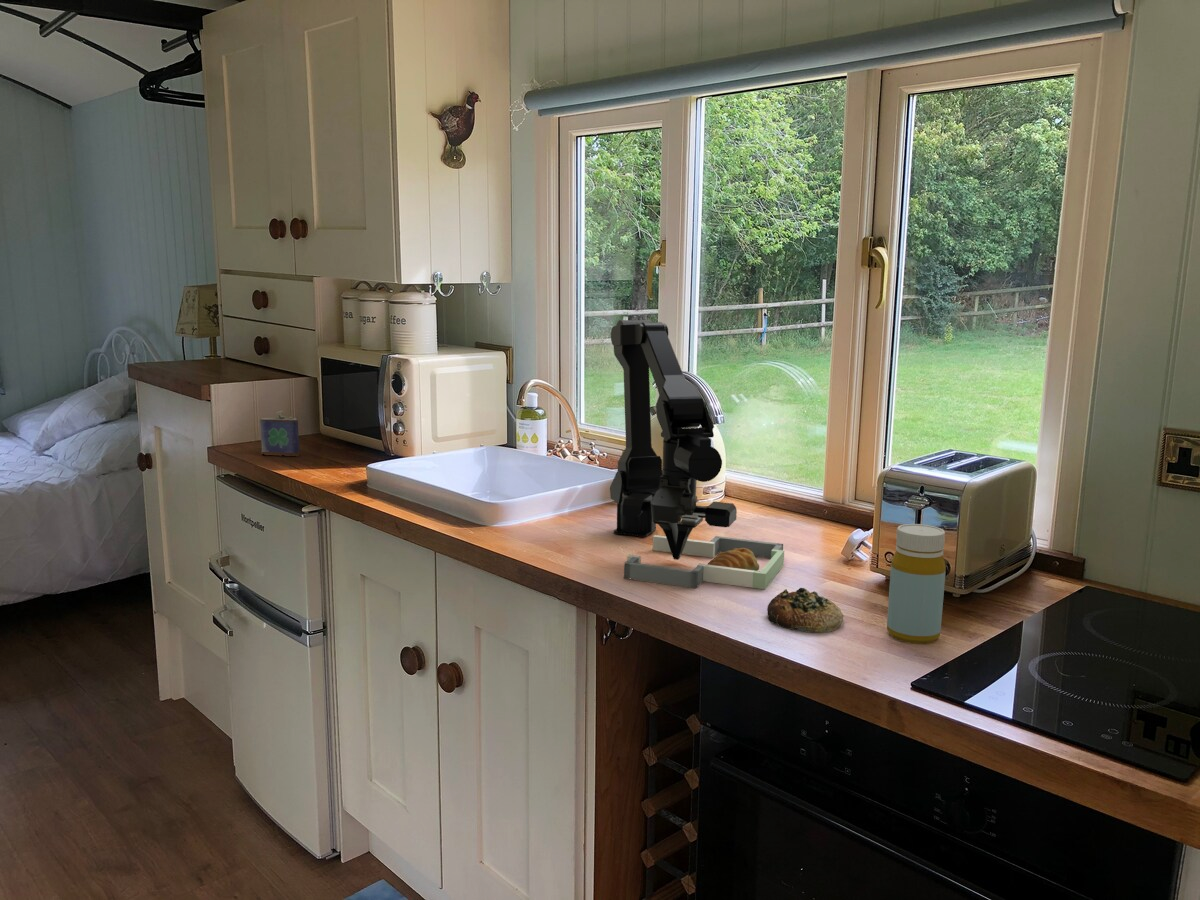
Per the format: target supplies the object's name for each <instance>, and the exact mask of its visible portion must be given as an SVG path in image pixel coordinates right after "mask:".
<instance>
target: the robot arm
mask: <svg viewBox="0 0 1200 900" xmlns="http://www.w3.org/2000/svg"><path fill="white" fill-rule="evenodd" d="M610 341H611V345H612V346H613V354H614V357H615V358H616V360H617V361H618V363H619V364H620V366H621V367H622V370H623V391H624V392H623V394H624V395H623V396H624V399H623V400H624V421H625V422H624V425H625V427H624V428H625V448H624V451H623V452H622V454H621V455H620V458H619V459H618V461H617V471H616V473H615V474H614V477H613V479H612V481H611V483H610V486H609V494H610V495H609V496H610V499H611V500H612V501H614V502H616V528H615V529H614V530H613V534H615V535H623V536H624V535H626V536H633V537H641V538H646V537H648V536H649V535H651V534H652V533H653V532H655V531H656V530H657V525H658V526H659V527H660V528H661V530H662V531H663V533H664V536H666V538H667V541H668V544H669V547H670V550H671V552H670V553H671V556H672V559H673V560H675V561H676V560H680V558H681V556H682V555H683V554H682V551H683V549H684V546H685V544H686V542H687V539H689V536H690V534H691V533H692V531H693V529H695V528H696V527H697V526H699V524H701V523H703V520H704V522H706V523H707V525H708V526H709V527H710V526H711V527H719V528H730V527H731V525H732V524H733V523H734V522H735V521H737V515H738V514H737V513H738V512H737V511H738V509H737V506H736V505H735V504H734V503H731V502H722V501H720V502H719V501H712V502H711V503H710V504H709V505H708V506H705V505H697V502H698V496H697V481H698V482H702V483H706V482H710V481H712V480H713V479H715V478H716V477H717V476H718V475H719V473H720V471H721V469H722V465H723V460H722V457H721V454H720V452H719V451H718V450H717V449H716V448H715V447H713V446H712V438H714V436H715V435H714V428H715V426H714V423H713V420H712V417H711V414H710V410H709V409H708V405H707V402H706V400H705V399H704V398H703V396H702V393H701V392H700V390H699V389H698V387H697V386H696V385H695V384H694V383H692V382H691V381H689V380H687V379H686V377H685V376H684V373H683V370H682V368H681V365H680V363H679V361H678V358H677V356H676V353H675V351H674V348H673V346H672V343H671V341H670V338H669V327H668V325H667V324H666V323H663V322H662V321H657V322H655V321H653V320H652V319H639V320H638V319H627V320H626V319H619V320H618V321H616V325H613V326H612V328H611V331H610ZM650 373H651V376H652V378H653V381H654V383H655V386H656V389H657V392H658V398H657V401H656V402H655V403H656V404H655V411H656V417H657V421H658V424H659V425H660V426H659V427H660V428H661V432H660V437H661V438H663V441H662V458H661V455H658V454H657V452H656V451H655V450H654V448H653V447H652V445H653V444H652V425H651V424H652V421H651V419H652V418H651V414H652V413H651V388H650Z"/></svg>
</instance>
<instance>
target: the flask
mask: <svg viewBox="0 0 1200 900" xmlns="http://www.w3.org/2000/svg"><path fill="white" fill-rule="evenodd" d="M283 412H284V411H283V410H279V411H277V412H274V414H275V415H276V417H261V418H260V421H259V423H260V435H261V437H260V441H261V442H260V443H261V453H262V452H279V453H298V452H300V451H301V450H300V447H301V446H300V437H299V420H298V419H297V418H295V417H294V418H293V417H292V416H285V414H282V413H283Z"/></svg>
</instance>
